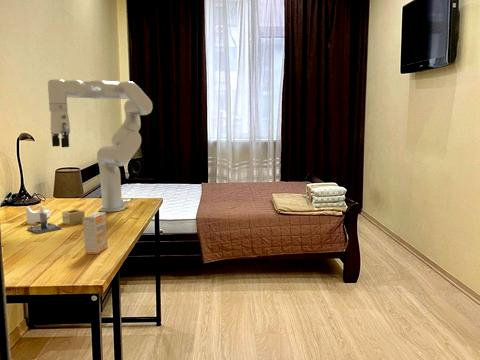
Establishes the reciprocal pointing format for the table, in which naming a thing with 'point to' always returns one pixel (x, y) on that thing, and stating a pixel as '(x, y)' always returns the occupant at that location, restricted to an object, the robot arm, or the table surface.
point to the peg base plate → (44, 225)
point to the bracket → (35, 215)
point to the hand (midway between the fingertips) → (60, 146)
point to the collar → (73, 217)
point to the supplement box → (95, 232)
